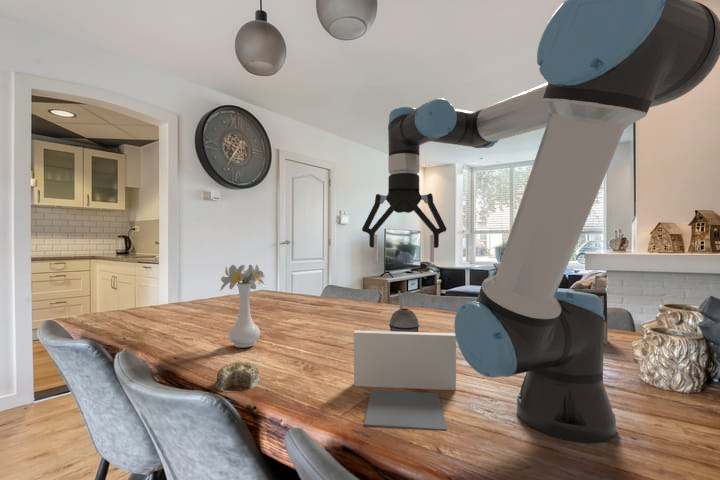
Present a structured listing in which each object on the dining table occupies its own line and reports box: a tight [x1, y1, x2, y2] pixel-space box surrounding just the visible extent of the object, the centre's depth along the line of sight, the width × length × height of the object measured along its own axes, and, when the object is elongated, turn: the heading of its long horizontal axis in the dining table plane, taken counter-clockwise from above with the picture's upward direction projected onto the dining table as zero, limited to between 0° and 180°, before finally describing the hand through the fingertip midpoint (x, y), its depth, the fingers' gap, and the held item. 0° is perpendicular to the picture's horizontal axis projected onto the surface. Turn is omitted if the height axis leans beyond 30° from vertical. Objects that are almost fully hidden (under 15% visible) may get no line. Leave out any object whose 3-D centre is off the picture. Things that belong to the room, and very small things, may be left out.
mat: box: [363, 389, 448, 431], centre depth 68 cm, size 14×14×1 cm
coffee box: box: [573, 288, 609, 345], centre depth 115 cm, size 9×6×16 cm
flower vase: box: [219, 264, 266, 348], centre depth 111 cm, size 13×18×25 cm
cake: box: [214, 361, 262, 394], centre depth 81 cm, size 10×10×5 cm
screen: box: [353, 329, 457, 391], centre depth 79 cm, size 22×2×12 cm, turn 83°
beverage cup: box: [388, 290, 420, 332], centre depth 87 cm, size 7×7×20 cm
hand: (403, 261), depth 87 cm, fingers open, 13 cm apart
